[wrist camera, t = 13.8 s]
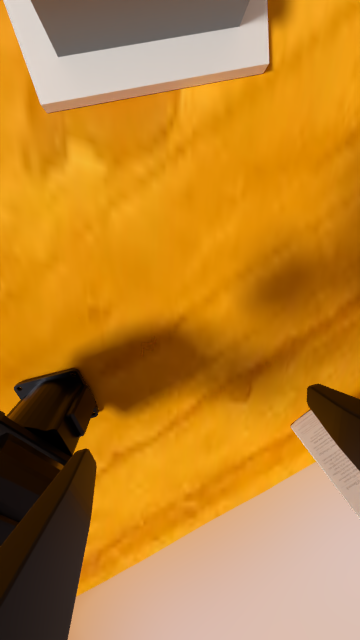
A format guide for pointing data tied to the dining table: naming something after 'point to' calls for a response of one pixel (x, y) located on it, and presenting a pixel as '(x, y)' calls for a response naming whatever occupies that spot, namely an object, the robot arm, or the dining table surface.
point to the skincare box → (330, 458)
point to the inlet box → (136, 46)
